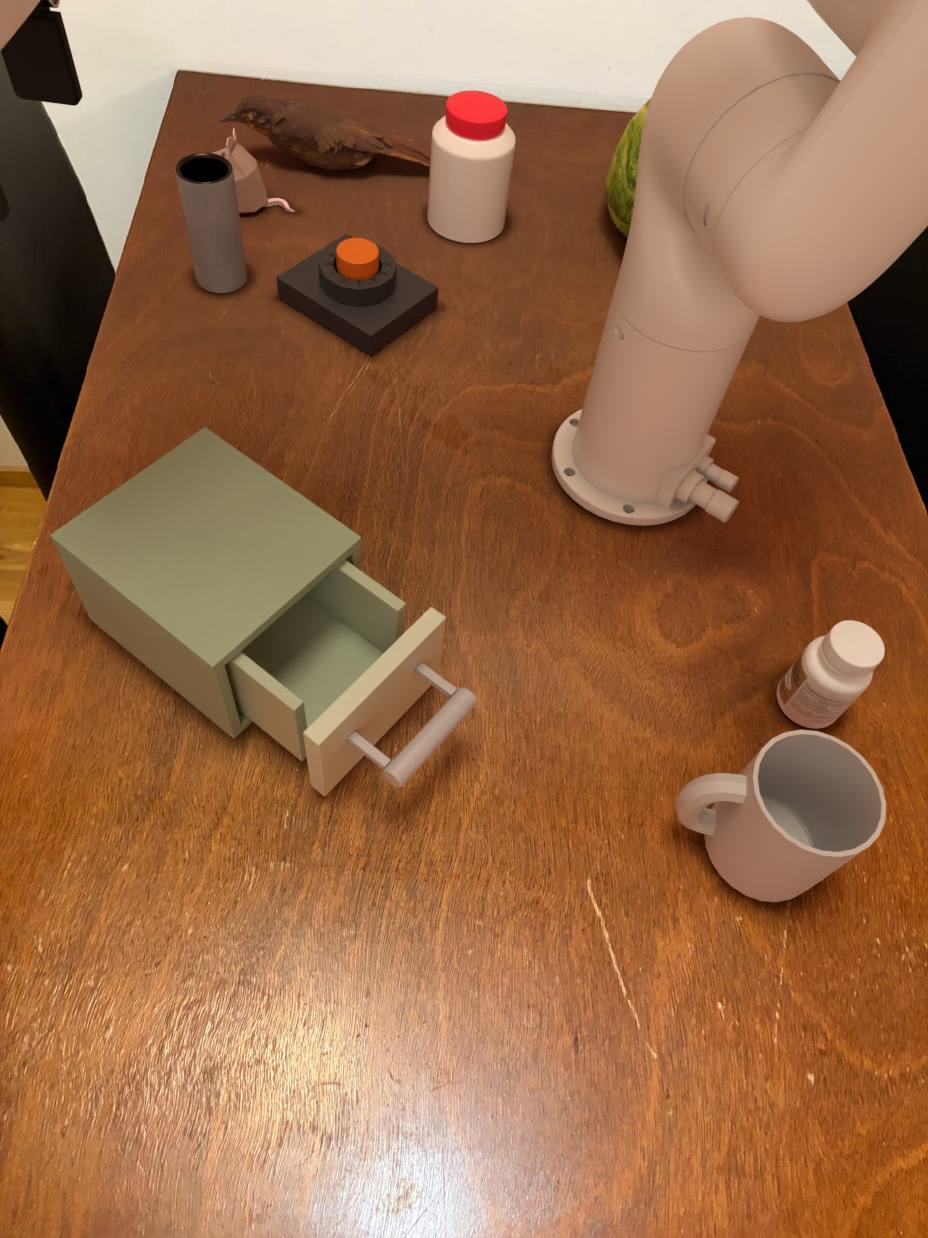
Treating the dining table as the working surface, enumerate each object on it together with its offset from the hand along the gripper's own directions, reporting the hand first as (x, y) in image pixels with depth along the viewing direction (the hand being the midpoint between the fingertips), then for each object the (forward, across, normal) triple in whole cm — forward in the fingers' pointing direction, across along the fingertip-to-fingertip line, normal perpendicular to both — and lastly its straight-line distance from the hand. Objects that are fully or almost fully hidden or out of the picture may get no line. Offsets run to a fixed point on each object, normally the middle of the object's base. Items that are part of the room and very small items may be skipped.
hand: (14, 153), depth 41 cm
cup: (+28, -19, -42) cm, 54 cm away
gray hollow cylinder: (+28, +29, +1) cm, 40 cm away
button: (+24, +28, -11) cm, 38 cm away
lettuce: (+28, +46, -41) cm, 68 cm away
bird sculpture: (+28, +49, -7) cm, 57 cm away
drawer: (+27, -12, -16) cm, 33 cm away
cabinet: (+28, -7, -8) cm, 29 cm away
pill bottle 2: (+28, -8, -48) cm, 56 cm away
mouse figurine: (+28, +40, +1) cm, 49 cm away
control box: (+28, +28, -11) cm, 41 cm away
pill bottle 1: (+28, +42, -20) cm, 55 cm away
